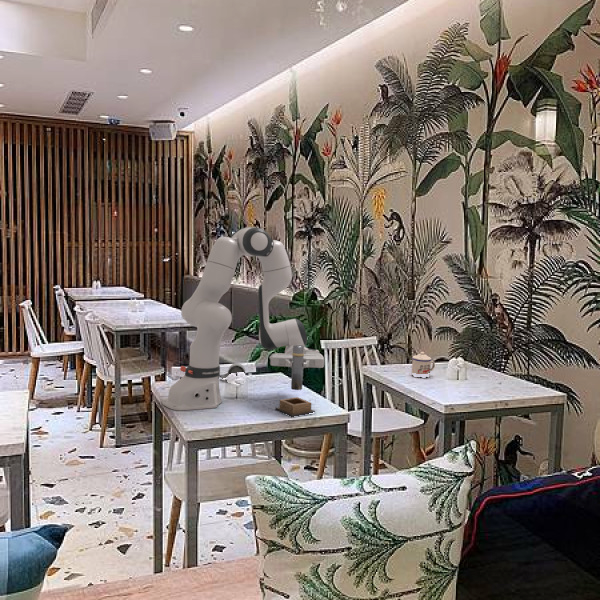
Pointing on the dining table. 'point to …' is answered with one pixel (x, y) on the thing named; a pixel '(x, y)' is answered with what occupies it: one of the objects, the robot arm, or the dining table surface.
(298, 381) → the air tube
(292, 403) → the stove collar
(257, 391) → the dining table surface
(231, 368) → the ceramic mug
